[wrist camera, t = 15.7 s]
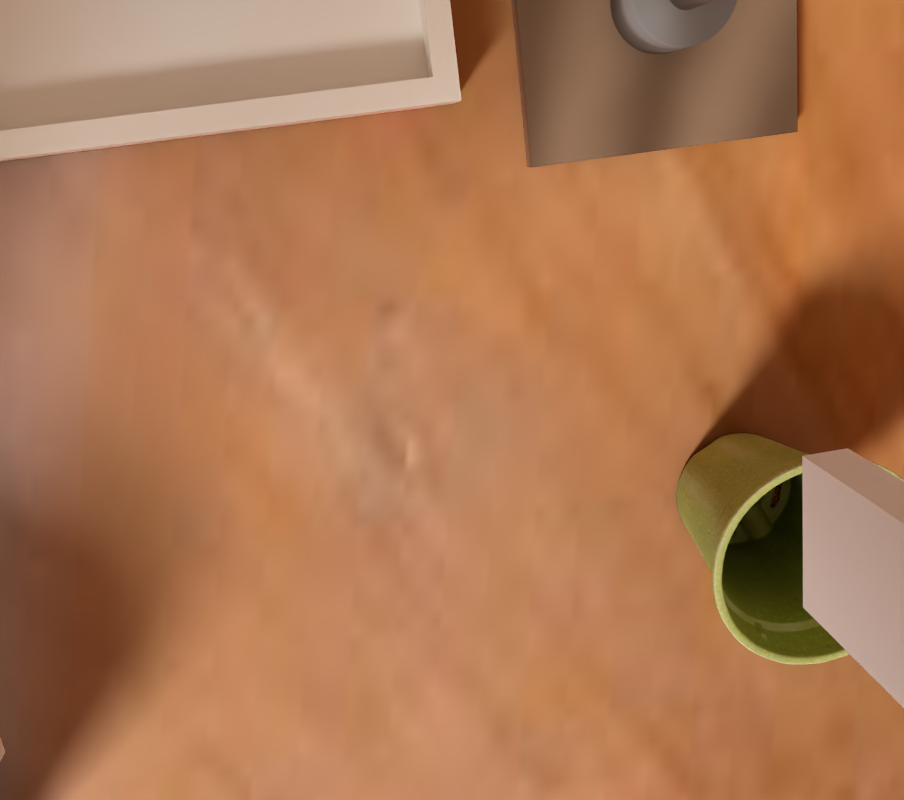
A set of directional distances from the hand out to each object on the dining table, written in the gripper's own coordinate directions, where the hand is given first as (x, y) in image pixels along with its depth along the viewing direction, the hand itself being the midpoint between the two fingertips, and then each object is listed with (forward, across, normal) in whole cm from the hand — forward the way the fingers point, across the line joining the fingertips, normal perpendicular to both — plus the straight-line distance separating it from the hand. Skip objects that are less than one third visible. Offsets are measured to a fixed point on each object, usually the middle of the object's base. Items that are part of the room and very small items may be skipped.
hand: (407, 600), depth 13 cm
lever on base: (+27, +14, +11) cm, 32 cm away
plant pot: (+27, +17, -12) cm, 34 cm away
